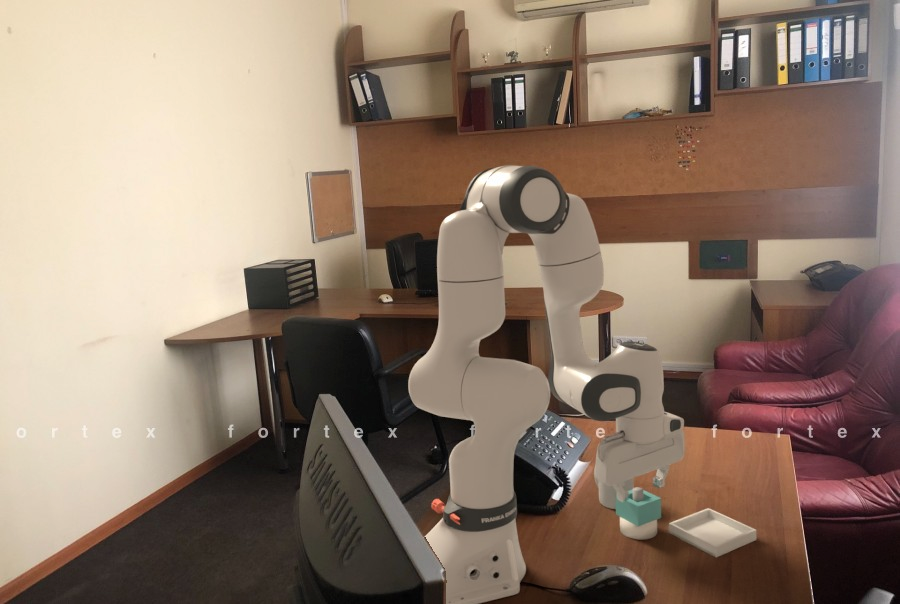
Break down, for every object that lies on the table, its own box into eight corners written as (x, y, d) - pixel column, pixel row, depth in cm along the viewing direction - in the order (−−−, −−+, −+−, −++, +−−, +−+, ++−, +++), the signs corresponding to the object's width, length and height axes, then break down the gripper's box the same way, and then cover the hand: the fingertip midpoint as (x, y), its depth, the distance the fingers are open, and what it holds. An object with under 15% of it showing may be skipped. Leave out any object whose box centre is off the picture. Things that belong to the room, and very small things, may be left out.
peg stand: (638, 543, 130) (637, 500, 128) (612, 528, 136) (611, 487, 134) (665, 532, 133) (664, 491, 132) (638, 518, 139) (638, 478, 138)
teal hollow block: (638, 526, 130) (637, 506, 129) (610, 511, 136) (609, 492, 136) (661, 517, 133) (661, 498, 132) (632, 503, 139) (632, 484, 139)
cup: (615, 513, 142) (614, 472, 141) (583, 496, 151) (582, 457, 149) (641, 504, 145) (640, 463, 144) (608, 487, 154) (607, 449, 153)
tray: (715, 557, 123) (715, 547, 123) (668, 532, 133) (668, 523, 133) (756, 539, 129) (756, 529, 128) (708, 517, 138) (708, 508, 138)
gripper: (609, 444, 123) (611, 515, 126) (690, 417, 133) (690, 484, 135) (586, 433, 129) (588, 502, 131) (665, 409, 138) (666, 473, 141)
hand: (641, 493), depth 133 cm, fingers open, 8 cm apart
